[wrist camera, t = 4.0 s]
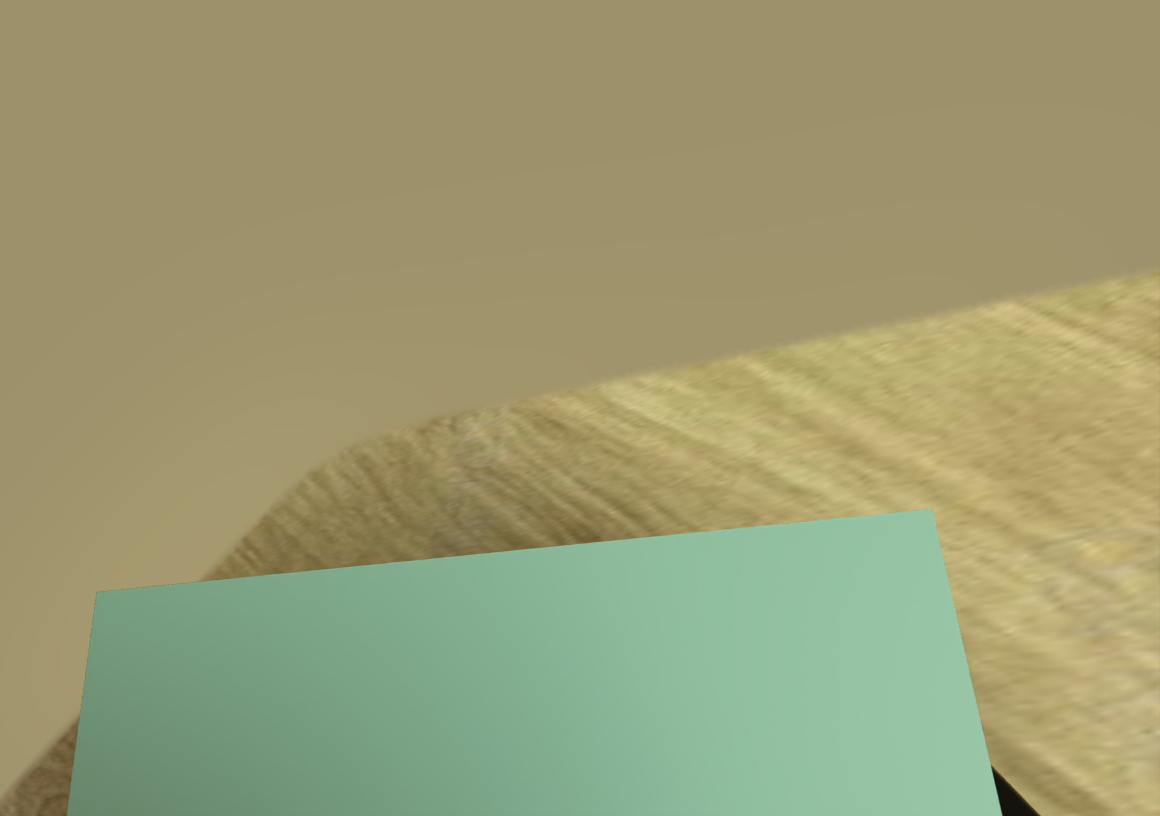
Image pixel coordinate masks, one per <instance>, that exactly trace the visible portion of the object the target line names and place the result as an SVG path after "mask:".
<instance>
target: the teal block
mask: <svg viewBox="0 0 1160 816" xmlns="http://www.w3.org/2000/svg"><path fill="white" fill-rule="evenodd" d="M66 816H1002V813H1001V808H1000V804H999V799H998V795H997V791H996V786H995V782H994V778H993V773H992V769H991V765H990V760H989V756H988V751H987V747H986V743H985V738H984V734H983V730H982V725H981V721H980V716H979V712H978V708H977V703H976V699H975V695H974V690H973V686H972V681H971V677H970V673H969V668H968V664H967V660H966V655H965V651H964V647H963V642H962V638H961V633H960V629H959V625H958V620H957V616H956V612H955V607H954V603H953V598H952V594H951V590H950V585H949V581H948V577H947V572H946V568H945V564H944V559H943V555H942V550H941V546H940V542H939V537H938V533H937V529H936V524H935V520H934V515H933V511H932V509H926V510H916V511H905V512H895V513H885V514H875V515H865V516H855V517H845V518H835V519H825V520H815V521H805V522H795V523H785V524H775V525H765V526H755V527H745V528H734V529H724V530H714V531H704V532H694V533H684V534H674V535H664V536H654V537H644V538H634V539H624V540H614V541H604V542H594V543H584V544H574V545H563V546H553V547H543V548H533V549H523V550H513V551H503V552H493V553H483V554H473V555H463V556H453V557H443V558H433V559H423V560H413V561H403V562H392V563H382V564H372V565H362V566H352V567H342V568H332V569H322V570H312V571H302V572H292V573H282V574H272V575H262V576H252V577H242V578H232V579H221V580H211V581H201V582H192V583H181V584H171V585H161V586H152V587H141V588H132V589H121V590H111V591H101V592H96V599H95V607H94V615H93V621H92V629H91V636H90V644H89V652H88V659H87V667H86V674H85V682H84V689H83V696H82V704H81V711H80V718H79V726H78V733H77V741H76V748H75V756H74V763H73V771H72V778H71V785H70V793H69V800H68V808H67V815H66Z"/></svg>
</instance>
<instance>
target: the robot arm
mask: <svg viewBox="0 0 1160 816" xmlns="http://www.w3.org/2000/svg"><path fill="white" fill-rule="evenodd" d="M990 765H991V764H990ZM991 769H992V773H993V778H994V782H995V786H996V791H997V795H998V799H999V804H1000V808H1001V813H1002V816H1040V815H1039V814H1038V813H1037V812H1036V811H1035V810H1034V809H1033V808H1032V807H1031V806H1030V805H1029V804H1028V802H1027V801H1026V800H1025V799H1024V798H1023V797H1022V796H1021V795H1020V794H1019V793H1018V792H1017V791H1016V790H1015V789H1014V788H1013V787H1012V786H1011V785H1010V784H1009V783H1008V782H1007V781H1006V780H1005V779H1004V778H1003V777H1002V776H1001V775H1000V774H999V773H998V772H997V771H996V770H995V769H994V768H993V766H992V765H991Z"/></svg>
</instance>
